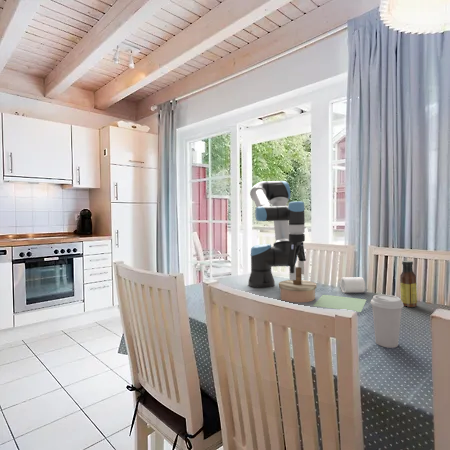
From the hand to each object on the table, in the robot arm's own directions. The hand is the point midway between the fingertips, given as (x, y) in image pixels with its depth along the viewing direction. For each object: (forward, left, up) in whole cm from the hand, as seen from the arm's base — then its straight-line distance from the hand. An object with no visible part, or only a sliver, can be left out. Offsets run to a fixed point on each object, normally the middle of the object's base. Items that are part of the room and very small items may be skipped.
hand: (297, 276), depth 155 cm
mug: (-24, +21, -11) cm, 34 cm away
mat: (0, +20, -11) cm, 23 cm away
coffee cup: (+37, +41, -11) cm, 56 cm away
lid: (0, 0, -5) cm, 5 cm away
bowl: (0, 0, -11) cm, 11 cm away
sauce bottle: (-10, +47, -11) cm, 49 cm away
